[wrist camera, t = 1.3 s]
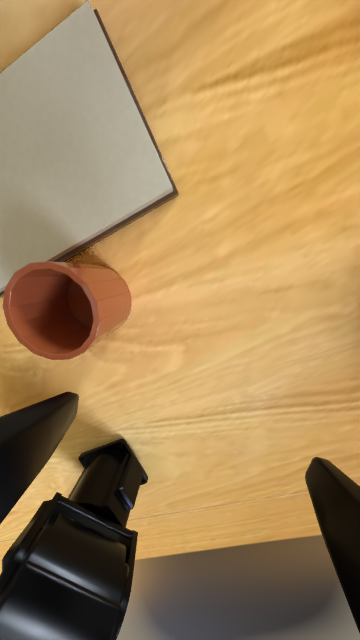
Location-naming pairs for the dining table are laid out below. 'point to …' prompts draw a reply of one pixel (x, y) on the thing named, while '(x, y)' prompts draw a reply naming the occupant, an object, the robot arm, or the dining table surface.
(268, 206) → the dining table surface
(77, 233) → the tile
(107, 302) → the pot
